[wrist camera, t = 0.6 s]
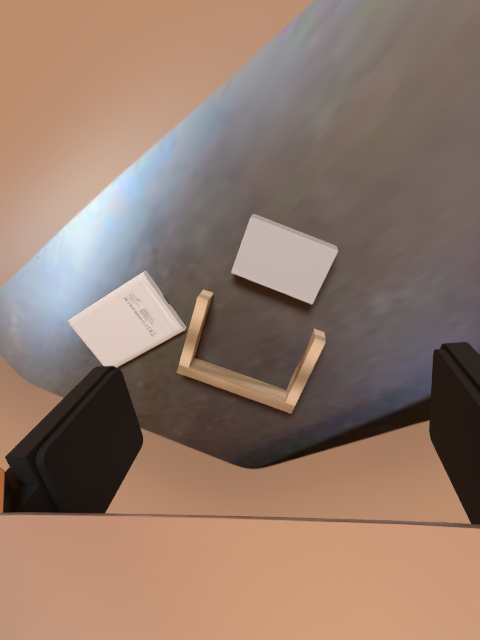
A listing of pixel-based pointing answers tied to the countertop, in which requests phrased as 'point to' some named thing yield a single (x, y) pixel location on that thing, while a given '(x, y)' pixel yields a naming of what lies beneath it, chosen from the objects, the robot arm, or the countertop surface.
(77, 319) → the external hard drive
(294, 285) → the light grey slab
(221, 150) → the countertop surface
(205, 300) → the pine rack
